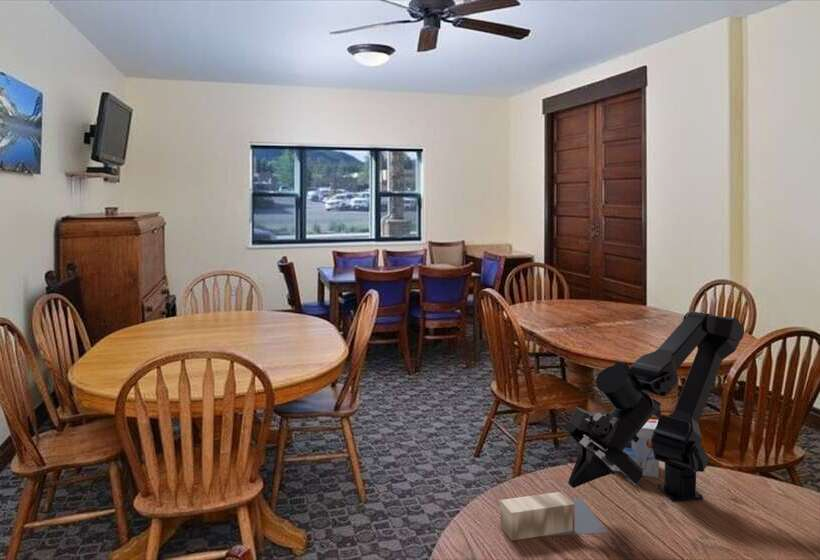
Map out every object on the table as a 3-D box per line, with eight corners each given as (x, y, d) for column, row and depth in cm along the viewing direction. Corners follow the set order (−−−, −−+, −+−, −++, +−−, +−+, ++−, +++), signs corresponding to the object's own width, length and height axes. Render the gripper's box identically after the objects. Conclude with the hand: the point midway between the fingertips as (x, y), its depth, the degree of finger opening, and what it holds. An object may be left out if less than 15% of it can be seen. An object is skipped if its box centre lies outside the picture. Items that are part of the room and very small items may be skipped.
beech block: (561, 491, 111) (500, 499, 108) (574, 503, 106) (511, 512, 103) (560, 517, 111) (500, 526, 108) (574, 530, 106) (511, 540, 103)
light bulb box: (607, 471, 132) (608, 424, 131) (608, 460, 138) (609, 414, 137) (660, 478, 128) (661, 429, 127) (658, 465, 134) (659, 419, 133)
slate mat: (504, 504, 118) (504, 502, 117) (581, 500, 118) (581, 498, 118) (520, 539, 105) (520, 537, 105) (607, 534, 106) (607, 532, 106)
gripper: (572, 379, 117) (519, 440, 115) (628, 408, 99) (567, 480, 97) (607, 415, 119) (557, 474, 118) (669, 449, 101) (609, 520, 100)
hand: (570, 485), depth 108 cm, fingers closed
